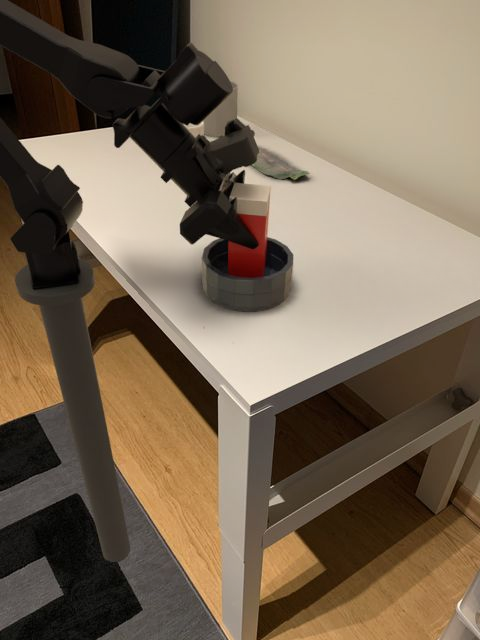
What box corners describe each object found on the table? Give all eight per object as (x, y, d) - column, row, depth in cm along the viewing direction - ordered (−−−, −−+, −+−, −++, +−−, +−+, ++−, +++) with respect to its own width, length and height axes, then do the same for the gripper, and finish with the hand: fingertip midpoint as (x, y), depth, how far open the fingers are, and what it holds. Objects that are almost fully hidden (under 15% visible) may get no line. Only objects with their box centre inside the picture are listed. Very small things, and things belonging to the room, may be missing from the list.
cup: (214, 122, 134) (213, 77, 128) (243, 129, 131) (244, 84, 125) (193, 131, 128) (192, 85, 122) (223, 139, 125) (224, 92, 119)
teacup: (169, 140, 123) (167, 115, 120) (203, 141, 124) (203, 116, 120) (168, 158, 115) (167, 131, 112) (205, 158, 116) (205, 132, 113)
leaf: (230, 156, 121) (230, 151, 120) (260, 149, 124) (260, 144, 123) (281, 185, 107) (281, 180, 106) (313, 177, 110) (313, 172, 109)
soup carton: (227, 285, 77) (229, 198, 69) (232, 267, 81) (234, 182, 73) (261, 288, 77) (267, 201, 69) (265, 270, 81) (270, 185, 73)
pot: (216, 318, 74) (216, 286, 71) (193, 269, 83) (192, 239, 80) (303, 303, 77) (307, 273, 74) (272, 258, 86) (274, 229, 83)
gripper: (205, 131, 57) (301, 237, 64) (231, 83, 72) (307, 173, 78) (137, 196, 63) (232, 287, 69) (174, 139, 77) (249, 219, 84)
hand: (258, 237), depth 75 cm, fingers closed on soup carton, 5 cm apart
